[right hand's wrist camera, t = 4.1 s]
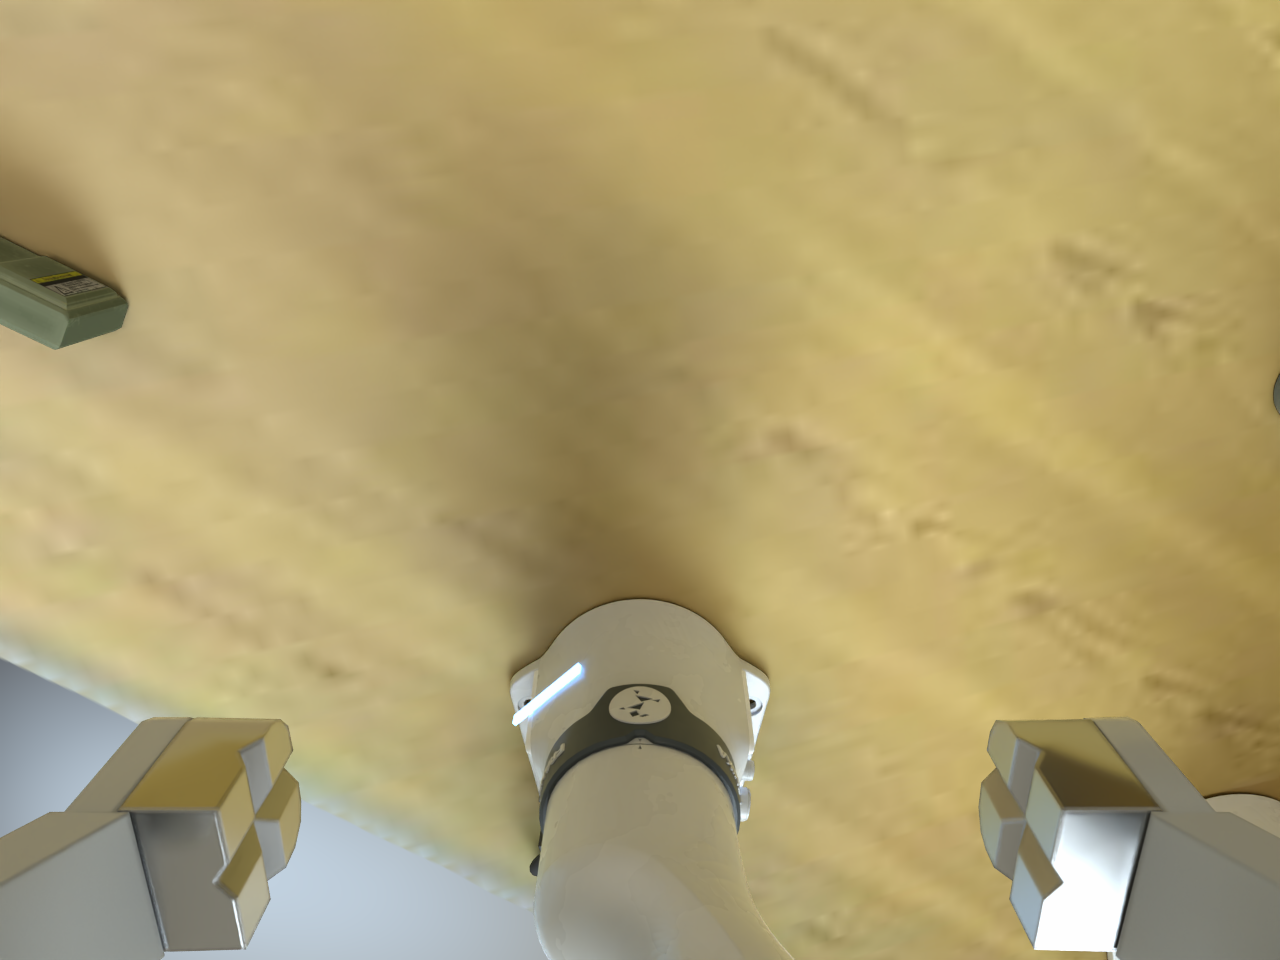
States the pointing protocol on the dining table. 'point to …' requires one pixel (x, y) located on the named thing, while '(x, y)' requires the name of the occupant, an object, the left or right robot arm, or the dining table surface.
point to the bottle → (1277, 394)
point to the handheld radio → (54, 300)
